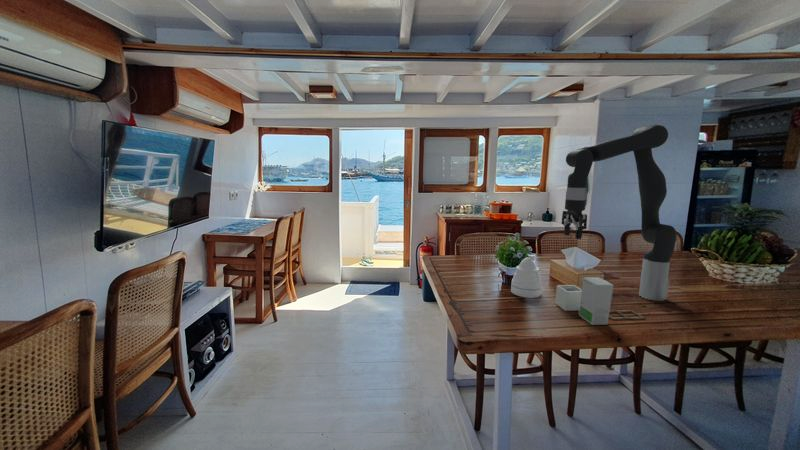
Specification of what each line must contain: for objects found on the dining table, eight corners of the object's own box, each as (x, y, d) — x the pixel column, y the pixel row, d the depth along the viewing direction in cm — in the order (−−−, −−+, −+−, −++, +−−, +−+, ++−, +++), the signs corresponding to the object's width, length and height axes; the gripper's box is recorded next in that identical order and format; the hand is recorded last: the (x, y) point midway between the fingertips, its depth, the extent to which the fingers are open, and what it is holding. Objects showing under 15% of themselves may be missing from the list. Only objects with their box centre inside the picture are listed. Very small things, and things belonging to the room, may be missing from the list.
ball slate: (572, 287, 135) (570, 283, 132) (578, 296, 132) (577, 292, 129) (562, 292, 136) (560, 288, 133) (568, 301, 133) (566, 298, 130)
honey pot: (544, 292, 151) (547, 254, 148) (534, 300, 142) (536, 260, 139) (517, 285, 160) (520, 250, 157) (506, 292, 150) (508, 254, 148)
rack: (631, 311, 130) (631, 310, 130) (645, 319, 123) (645, 317, 123) (599, 312, 129) (600, 310, 129) (612, 319, 122) (612, 318, 122)
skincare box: (578, 315, 126) (581, 277, 124) (594, 315, 126) (598, 276, 124) (592, 325, 118) (596, 284, 115) (609, 325, 118) (614, 284, 116)
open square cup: (572, 303, 138) (574, 285, 137) (583, 310, 131) (585, 291, 130) (555, 303, 138) (556, 285, 137) (565, 310, 130) (566, 291, 129)
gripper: (595, 200, 128) (591, 240, 130) (574, 197, 142) (571, 233, 144) (576, 200, 127) (573, 240, 130) (557, 197, 141) (554, 234, 144)
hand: (572, 237), depth 137 cm, fingers open, 8 cm apart
